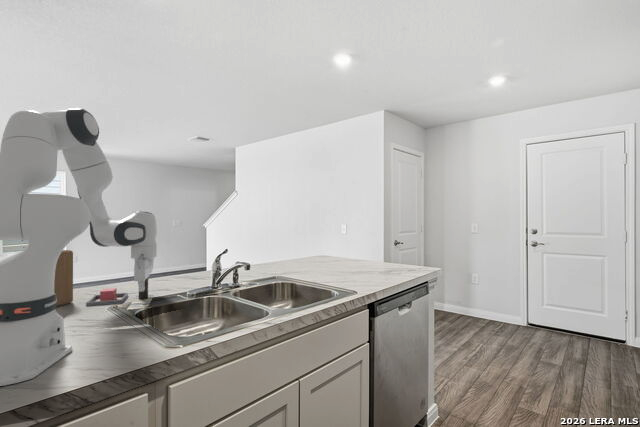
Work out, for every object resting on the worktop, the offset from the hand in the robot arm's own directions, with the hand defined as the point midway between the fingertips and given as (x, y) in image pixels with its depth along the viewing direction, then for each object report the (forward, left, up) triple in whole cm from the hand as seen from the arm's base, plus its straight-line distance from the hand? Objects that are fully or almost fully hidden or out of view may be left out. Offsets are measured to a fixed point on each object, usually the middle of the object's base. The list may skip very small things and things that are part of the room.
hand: (143, 288), depth 128 cm
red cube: (+1, +12, -4) cm, 13 cm away
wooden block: (+4, +31, -5) cm, 32 cm away
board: (-4, 0, -5) cm, 6 cm away
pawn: (0, 0, -4) cm, 4 cm away
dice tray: (+1, +12, -5) cm, 13 cm away
